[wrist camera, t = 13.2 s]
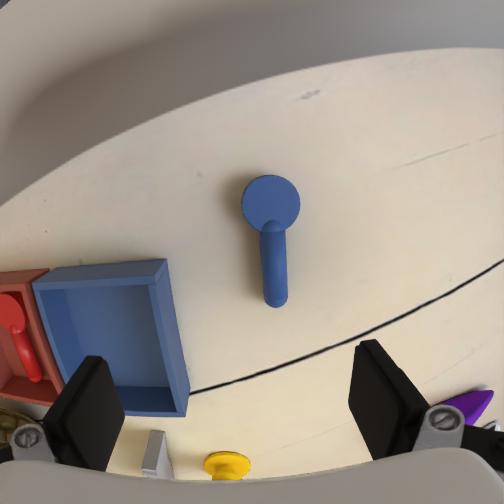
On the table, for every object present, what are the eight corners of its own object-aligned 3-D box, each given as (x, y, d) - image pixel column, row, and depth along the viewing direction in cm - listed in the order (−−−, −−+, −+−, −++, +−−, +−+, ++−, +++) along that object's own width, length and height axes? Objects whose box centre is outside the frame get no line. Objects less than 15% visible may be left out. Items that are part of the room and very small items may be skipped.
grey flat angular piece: (164, 430, 28) (175, 481, 30) (151, 429, 28) (164, 480, 30) (155, 471, 22) (170, 516, 24) (141, 469, 22) (158, 515, 24)
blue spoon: (299, 299, 25) (304, 308, 23) (249, 304, 24) (250, 314, 23) (295, 173, 22) (300, 173, 20) (239, 177, 22) (239, 177, 20)
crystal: (500, 411, 27) (410, 474, 25) (479, 394, 31) (392, 449, 30) (508, 386, 25) (413, 453, 24) (484, 369, 30) (393, 427, 29)
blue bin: (55, 267, 23) (31, 282, 19) (166, 258, 23) (154, 275, 19) (91, 385, 26) (77, 410, 22) (190, 388, 26) (185, 417, 22)
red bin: (-21, 273, 22) (-45, 286, 19) (48, 268, 23) (24, 283, 19) (14, 376, 25) (-3, 395, 22) (85, 385, 26) (70, 409, 22)
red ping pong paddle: (56, 378, 25) (48, 387, 23) (28, 374, 25) (20, 383, 23) (25, 287, 23) (14, 294, 21) (-2, 289, 22) (-13, 295, 21)
